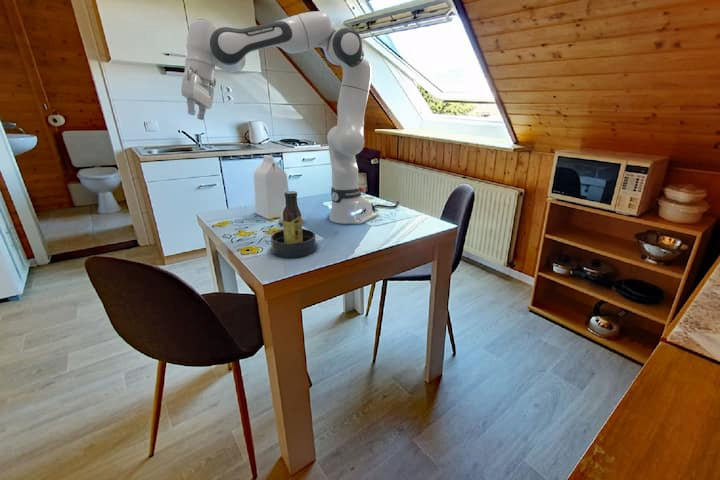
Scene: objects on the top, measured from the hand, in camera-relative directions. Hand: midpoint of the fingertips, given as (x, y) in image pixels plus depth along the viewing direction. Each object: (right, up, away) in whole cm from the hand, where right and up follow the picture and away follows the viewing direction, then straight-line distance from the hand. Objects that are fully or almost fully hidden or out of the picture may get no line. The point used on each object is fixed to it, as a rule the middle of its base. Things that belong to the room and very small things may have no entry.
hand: (196, 117), depth 116 cm
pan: (+32, -45, +3) cm, 55 cm away
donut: (+26, -34, +30) cm, 53 cm away
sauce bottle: (+32, -45, +3) cm, 55 cm away
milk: (+16, -30, +42) cm, 54 cm away
